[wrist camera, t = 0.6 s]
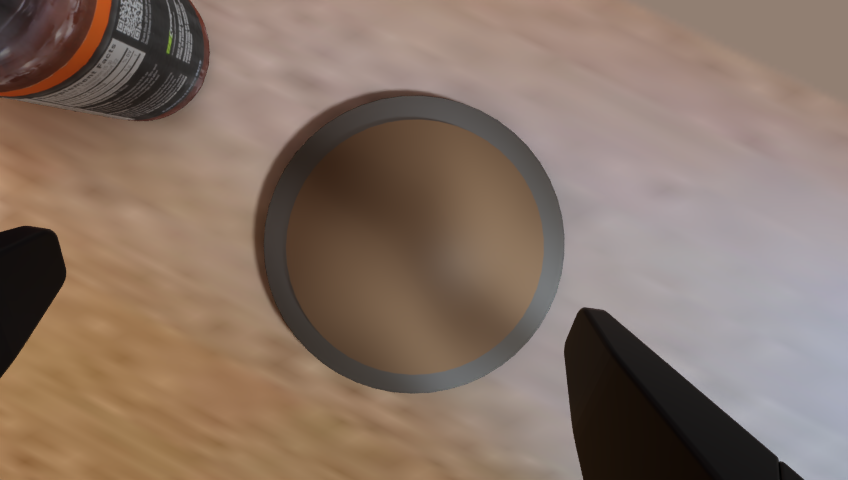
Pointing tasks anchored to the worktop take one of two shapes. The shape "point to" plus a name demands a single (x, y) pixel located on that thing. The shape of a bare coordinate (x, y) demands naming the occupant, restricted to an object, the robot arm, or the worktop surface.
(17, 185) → the worktop surface
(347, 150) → the coaster
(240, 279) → the worktop surface
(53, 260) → the robot arm
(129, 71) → the supplement bottle
